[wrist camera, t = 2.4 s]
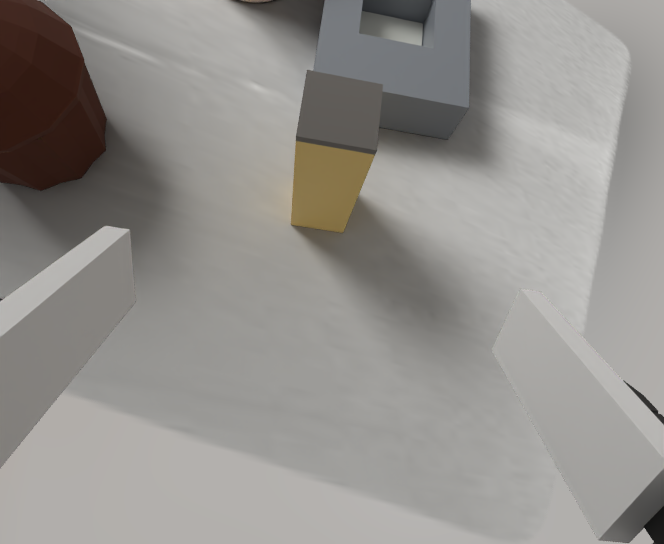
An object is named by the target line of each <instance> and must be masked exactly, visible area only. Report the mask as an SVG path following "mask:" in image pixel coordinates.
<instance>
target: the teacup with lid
mask: <svg viewBox="0 0 664 544" xmlns="http://www.w3.org/2000/svg"><path fill="white" fill-rule="evenodd" d="M241 1H246V2H256V3H257V2H268V1H272V0H241Z"/></svg>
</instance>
